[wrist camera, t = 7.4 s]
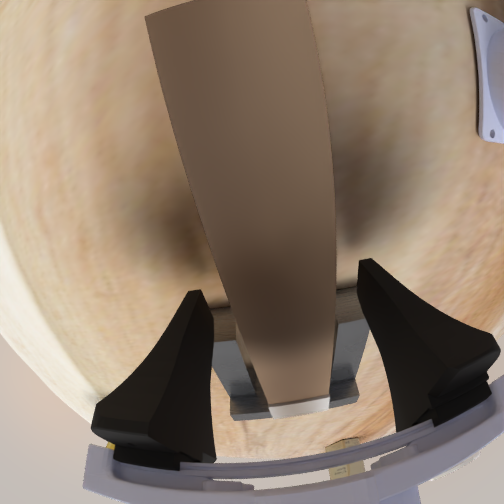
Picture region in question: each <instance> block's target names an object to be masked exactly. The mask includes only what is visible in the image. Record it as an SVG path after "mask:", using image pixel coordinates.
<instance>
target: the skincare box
mask: <svg viewBox="0 0 504 504" xmlns="http://www.w3.org/2000/svg"><path fill="white" fill-rule="evenodd" d="M359 444H360V443H359V439H358V438H352V439H346V440H341V441H339V442H337V443H335V444H333V445H330V446H328V447H326V448H325V449H326V452H331V451H335V450H340V449H344V448H348V447H352V446H356V445H359ZM363 472H365V468H364V463H363V460H362V461H358V462H354V463H350V464H346V465H342V466H338V467H333V468H329V474H330V480H333V479H338V478H342V477H347V476H351V475H355V474H359V473H363Z"/></svg>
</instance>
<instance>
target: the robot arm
mask: <svg viewBox="0 0 504 504" xmlns="http://www.w3.org/2000/svg"><path fill="white" fill-rule="evenodd" d="M470 16H471V21H472V26H473V32H474V38H475V45H476V52H477V62H478V74H479V136H480V138H481V139H483V140H485V141H488V142H496V143H503V144H504V23H503V22H501V21H500V20H498V19H496V18H495V17H493V16H491V15H490V14H488V13H486V12H484V11H482V10H480V9H479V8H476V7H473V8H470ZM356 293H357V296H358V300H359V303H360V306H361V309H362V312H363V314H364V317H365V319H366V321H367V323H368V326H369V328H370V330H371V332H372V335H373V337H374V339H375V341H376V344H377V346H378V348H379V351H380V354H381V357H382V360H383V364H384V367H385V371H386V375H387V379H388V383H389V387H390V392H391V398H392V403H393V409H394V416H395V424H396V432H397V433H394V434H392V435H389V436H386V437H383V438H380V439H376V440H373V441H370V442H366V443H363V444H359V445H356V446H352V447H348V448H344V449H340V450H335V451H331V452H326V453H321V454H316V455H310V456H304V457H298V458H291V459H283V460H274V461H264V462H249V463H214V462H215V461H216V459H217V458H216V452H215V445H214V437H213V427H212V416H211V396H210V381H211V369H212V358H213V348H214V318H213V316H212V313H211V311H210V309H209V307H208V304H207V302H206V300H205V298H204V295H203V293H202V291H201V289H200V290H193V291H188V293H187V294H186V296H185V298H184V299H183V301H182V303H181V305H180V306H179V308H178V310H177V312H176V313H175V315H174V317H173V318H172V320H171V322H170V323H169V325H168V327H167V328H166V330H165V332H164V333H163V335H162V336H161V338H160V339H159V341H158V342H157V344H156V345H155V346H154V348H153V349H152V351H151V352H150V353H149V354H148V356H147V357H146V358H145V359H144V361H143V362H142V363H141V364H140V365H139V366H138V367H137V368H136V370H135V371H134V372H133V373H132V374H131V375H130V376H129V377H128V378H127V379H126V380H125V381H124V382H123V383H122V384H121V385H120V386H118V387H117V388H116V389H115V390H114V391H113V392H111V393H110V394H109V395H108V396H106V397H105V398H104V399H102V400H101V401H100V402H98V403H97V404H96V407H95V411H94V416H93V420H92V425H91V430H92V432H94V433H95V434H96V435H97V436H99V437H101V438H103V439H105V440H106V441H108V442H110V443H112V444H114V445H115V448H114V450H113V449H109V448H106V447H101V446H97V445H93V444H90V445H89V448H88V454H87V460H86V467H85V473H84V480H83V481H84V482H83V488H84V489H86V490H88V491H91V492H94V493H97V494H99V495H102V496H105V497H108V498H111V499H114V500H117V501H120V502H123V503H127V504H421V502H420V496H419V492H418V485H420V484H422V483H424V482H426V481H428V480H430V479H432V478H434V477H436V476H438V475H440V474H442V473H443V472H445V471H447V470H449V469H451V468H452V467H454V466H456V465H457V464H459V463H461V462H462V461H464V460H466V459H467V458H469V457H470V456H472V455H473V454H475V453H476V452H478V451H479V450H481V449H482V448H484V447H485V446H486V445H488V444H489V443H490V442H492V441H493V440H494V439H496V438H497V437H498V436H500V435H501V434H502V433H503V432H504V375H502V376H501V377H500V378H498V379H497V380H495V381H493V382H492V383H491V384H490V385H488V383H487V380H488V379H489V376H488V374H487V371H488V369H489V368H490V367H491V366H492V365H493V363H494V362H495V361H496V360H497V358H498V357H499V355H500V352H501V350H500V347H499V346H498V344H497V342H496V340H495V338H494V337H493V335H492V334H490V333H487V332H485V331H482V330H479V329H476V328H473V327H471V326H469V325H467V324H464V323H462V322H460V321H458V320H456V319H454V318H452V317H450V316H448V315H446V314H445V313H443V312H441V311H439V310H438V309H436V308H434V307H433V306H431V305H430V304H428V303H427V302H425V301H424V300H422V299H421V298H419V297H418V296H417V295H415V294H414V293H413V292H411V291H410V290H409V289H407V288H406V287H405V286H404V285H402V284H401V283H400V282H399V281H398V280H396V279H395V278H394V277H393V276H392V275H390V274H389V273H388V272H387V271H386V270H385V269H383V268H382V267H381V266H380V265H379V264H378V263H376V262H375V261H374V260H373V259H372V258H369V259H364V260H359V266H358V280H357V291H356ZM404 446H406V447H405V448H402V449H400V450H398V451H396V452H393V453H391V454H388V455H386V456H383V457H381V458H380V459H379V461H377V462H375V463H373V464H372V465H371V470H370V471H366V472H363V473H359V474H355V475H351V476H347V477H342V478H338V479H333V480H329V481H323V482H318V483H312V484H306V485H299V486H292V487H284V488H275V489H264V490H254V486H253V485H250V484H243V483H241V482H233V481H215V480H213V479H248V478H265V477H276V476H286V475H293V474H301V473H307V472H313V471H319V470H324V469H329V468H333V467H338V466H342V465H346V464H350V463H354V462H358V461H362V460H365V459H368V458H372V457H375V456H378V455H381V454H384V453H387V452H390V451H393V450H396V449H399V448H401V447H404Z"/></svg>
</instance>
